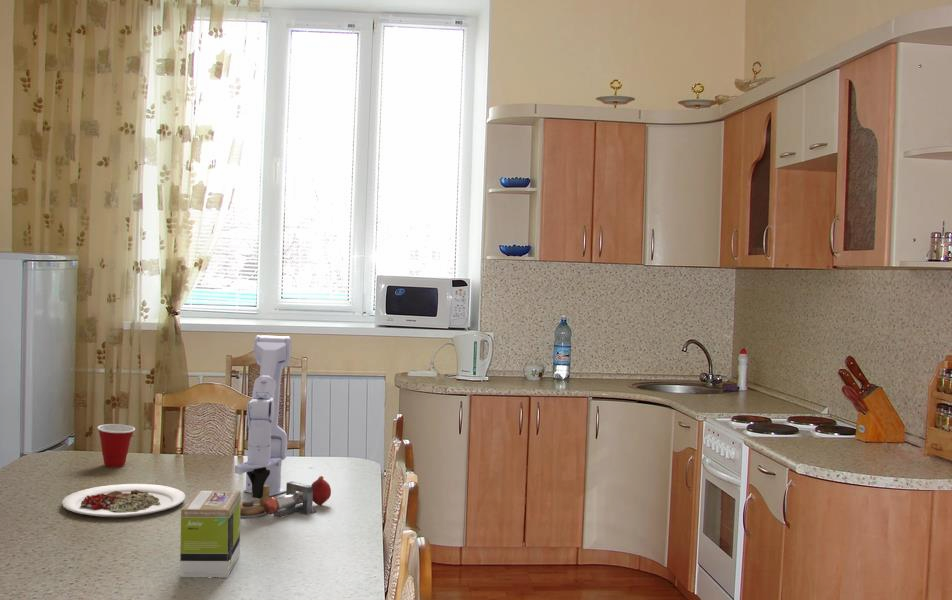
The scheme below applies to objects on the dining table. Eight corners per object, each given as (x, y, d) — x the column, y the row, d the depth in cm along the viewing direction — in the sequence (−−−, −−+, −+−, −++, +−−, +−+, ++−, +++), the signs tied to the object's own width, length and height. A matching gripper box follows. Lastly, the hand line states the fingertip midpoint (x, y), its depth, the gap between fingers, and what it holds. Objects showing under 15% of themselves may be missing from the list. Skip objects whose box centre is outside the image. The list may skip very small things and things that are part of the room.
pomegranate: (325, 509, 242) (326, 479, 241) (305, 507, 243) (306, 477, 242) (333, 503, 247) (334, 474, 247) (313, 501, 248) (314, 472, 248)
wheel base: (213, 511, 235) (213, 510, 235) (248, 502, 245) (248, 501, 245) (246, 520, 228) (246, 519, 228) (280, 510, 238) (281, 509, 238)
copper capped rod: (263, 512, 232) (263, 496, 232) (299, 502, 243) (300, 486, 243) (274, 515, 229) (275, 499, 229) (311, 505, 241) (312, 489, 240)
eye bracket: (264, 513, 235) (265, 487, 235) (291, 505, 244) (292, 480, 243) (289, 520, 230) (290, 493, 230) (316, 512, 239) (317, 486, 238)
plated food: (206, 508, 239) (207, 495, 239) (93, 529, 217) (94, 515, 217) (151, 485, 259) (151, 473, 259) (42, 502, 237) (42, 489, 237)
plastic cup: (125, 470, 273) (127, 430, 273) (90, 468, 273) (91, 429, 273) (139, 462, 284) (140, 424, 284) (105, 460, 284) (106, 422, 284)
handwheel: (225, 515, 231) (226, 490, 231) (229, 504, 241) (230, 481, 240) (267, 515, 233) (268, 491, 232) (270, 504, 242) (270, 481, 242)
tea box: (194, 554, 202) (196, 488, 201) (240, 555, 203) (243, 489, 202) (178, 578, 187) (180, 507, 186) (228, 579, 188) (230, 508, 187)
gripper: (249, 450, 227) (247, 505, 228) (290, 443, 240) (288, 495, 240) (229, 447, 231) (227, 500, 232) (271, 440, 243) (269, 490, 244)
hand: (257, 497), depth 236 cm, fingers closed, pressing on handwheel
